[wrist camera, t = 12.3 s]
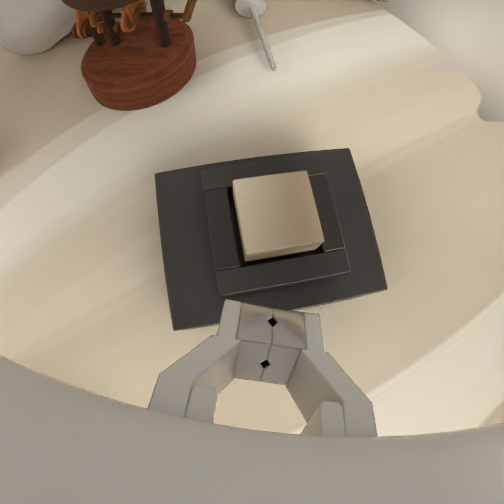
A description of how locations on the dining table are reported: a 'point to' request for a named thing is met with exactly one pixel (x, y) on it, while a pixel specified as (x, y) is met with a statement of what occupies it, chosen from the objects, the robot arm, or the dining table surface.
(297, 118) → the dining table surface
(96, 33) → the music box
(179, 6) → the dining table surface
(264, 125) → the dining table surface
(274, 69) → the screwdriver
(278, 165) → the key box
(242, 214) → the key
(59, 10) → the head bust
